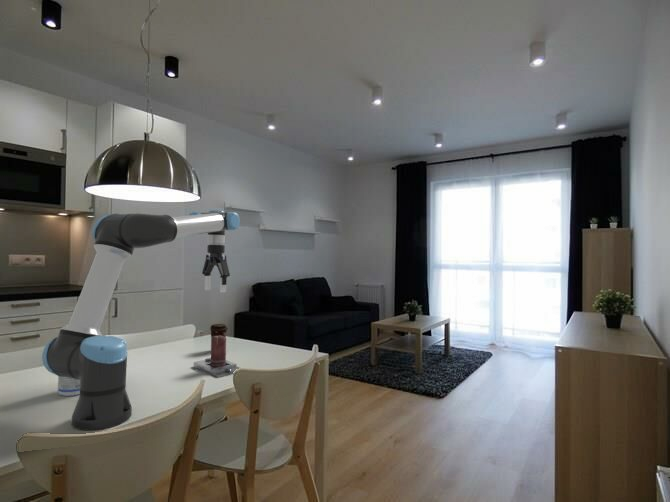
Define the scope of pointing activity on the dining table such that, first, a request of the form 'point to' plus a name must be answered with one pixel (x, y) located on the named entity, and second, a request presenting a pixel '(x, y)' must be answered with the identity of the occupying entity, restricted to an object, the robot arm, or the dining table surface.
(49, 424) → the dining table surface
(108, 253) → the robot arm
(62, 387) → the supplement tub
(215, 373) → the link plate lower
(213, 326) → the coffee cup
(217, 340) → the can
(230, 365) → the link plate upper
